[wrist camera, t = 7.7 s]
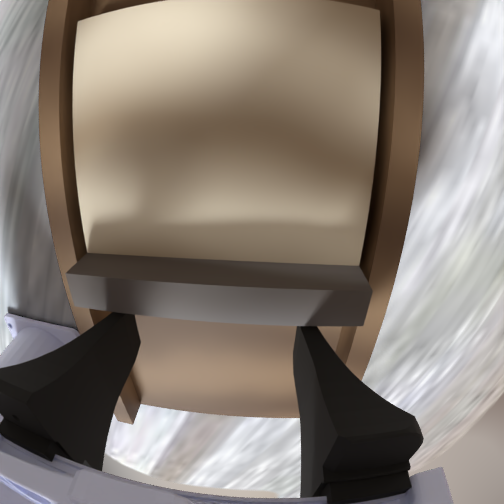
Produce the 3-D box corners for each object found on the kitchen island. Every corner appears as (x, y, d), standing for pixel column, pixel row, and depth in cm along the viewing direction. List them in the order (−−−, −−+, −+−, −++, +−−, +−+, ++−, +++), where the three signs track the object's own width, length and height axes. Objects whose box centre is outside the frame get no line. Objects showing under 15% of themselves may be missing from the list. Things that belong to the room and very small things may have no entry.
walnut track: (330, 406, 20) (337, 451, 16) (129, 391, 20) (113, 431, 16) (387, -40, 8) (418, -74, 4) (90, -32, 8) (50, -56, 5)
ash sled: (344, 281, 14) (363, 326, 11) (107, 268, 14) (74, 306, 11) (367, 20, 9) (399, -6, 6) (94, 28, 9) (51, 12, 6)
